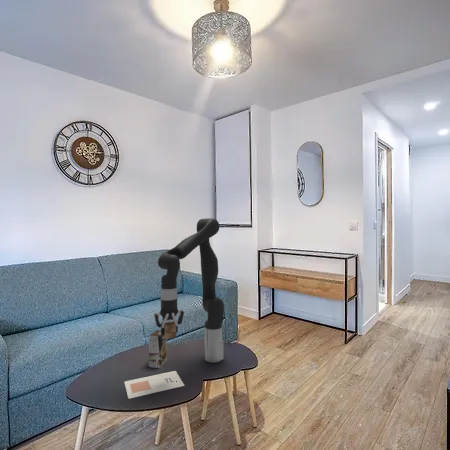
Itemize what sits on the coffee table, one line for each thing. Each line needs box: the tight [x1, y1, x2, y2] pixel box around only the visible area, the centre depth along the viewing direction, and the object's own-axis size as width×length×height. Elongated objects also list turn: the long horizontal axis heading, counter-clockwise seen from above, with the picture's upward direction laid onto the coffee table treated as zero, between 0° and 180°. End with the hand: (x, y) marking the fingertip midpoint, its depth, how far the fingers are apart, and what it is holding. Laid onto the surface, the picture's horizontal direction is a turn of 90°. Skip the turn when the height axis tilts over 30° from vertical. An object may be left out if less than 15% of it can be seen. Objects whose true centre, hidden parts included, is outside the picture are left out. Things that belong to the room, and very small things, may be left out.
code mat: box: [124, 370, 185, 399], centre depth 135 cm, size 24×15×1 cm, turn 115°
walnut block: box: [163, 320, 177, 340], centre depth 138 cm, size 5×5×6 cm
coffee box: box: [148, 329, 168, 369], centre depth 155 cm, size 9×6×16 cm
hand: (169, 334), depth 138 cm, fingers closed on walnut block, 5 cm apart
